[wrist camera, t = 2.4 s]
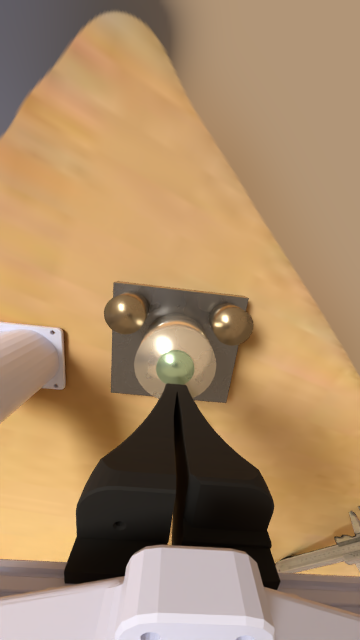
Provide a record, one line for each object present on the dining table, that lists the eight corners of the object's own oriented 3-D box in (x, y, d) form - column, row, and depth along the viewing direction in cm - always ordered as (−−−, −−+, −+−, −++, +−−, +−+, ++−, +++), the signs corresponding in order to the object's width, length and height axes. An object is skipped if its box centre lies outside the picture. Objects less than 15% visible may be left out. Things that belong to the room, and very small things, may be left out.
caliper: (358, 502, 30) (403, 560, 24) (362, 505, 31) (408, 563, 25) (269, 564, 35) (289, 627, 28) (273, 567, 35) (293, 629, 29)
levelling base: (112, 455, 27) (91, 517, 20) (118, 281, 20) (89, 287, 14) (227, 464, 27) (243, 526, 21) (267, 298, 21) (308, 312, 14)
